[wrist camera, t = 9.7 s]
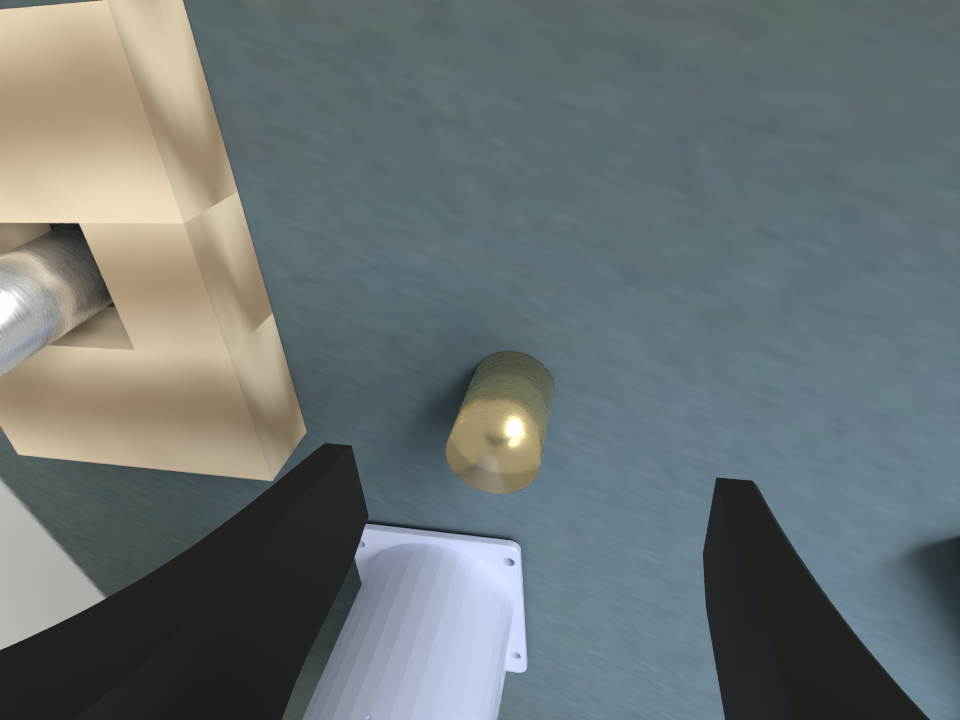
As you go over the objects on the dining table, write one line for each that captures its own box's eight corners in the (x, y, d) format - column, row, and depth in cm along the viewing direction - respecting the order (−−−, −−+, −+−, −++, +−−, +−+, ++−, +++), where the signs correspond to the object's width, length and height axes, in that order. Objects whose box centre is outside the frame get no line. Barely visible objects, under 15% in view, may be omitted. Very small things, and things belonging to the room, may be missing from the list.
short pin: (554, 421, 23) (540, 497, 20) (476, 415, 24) (450, 488, 20) (553, 353, 21) (538, 424, 18) (469, 349, 22) (440, 417, 19)
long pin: (160, 288, 24) (8, 395, 18) (94, 285, 24) (-74, 387, 18) (132, 212, 22) (-46, 303, 16) (62, 211, 23) (-133, 297, 17)
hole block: (306, 431, 26) (272, 481, 24) (71, 411, 29) (18, 454, 26) (180, -6, 18) (106, 0, 15) (-138, 22, 20) (-246, 31, 18)
